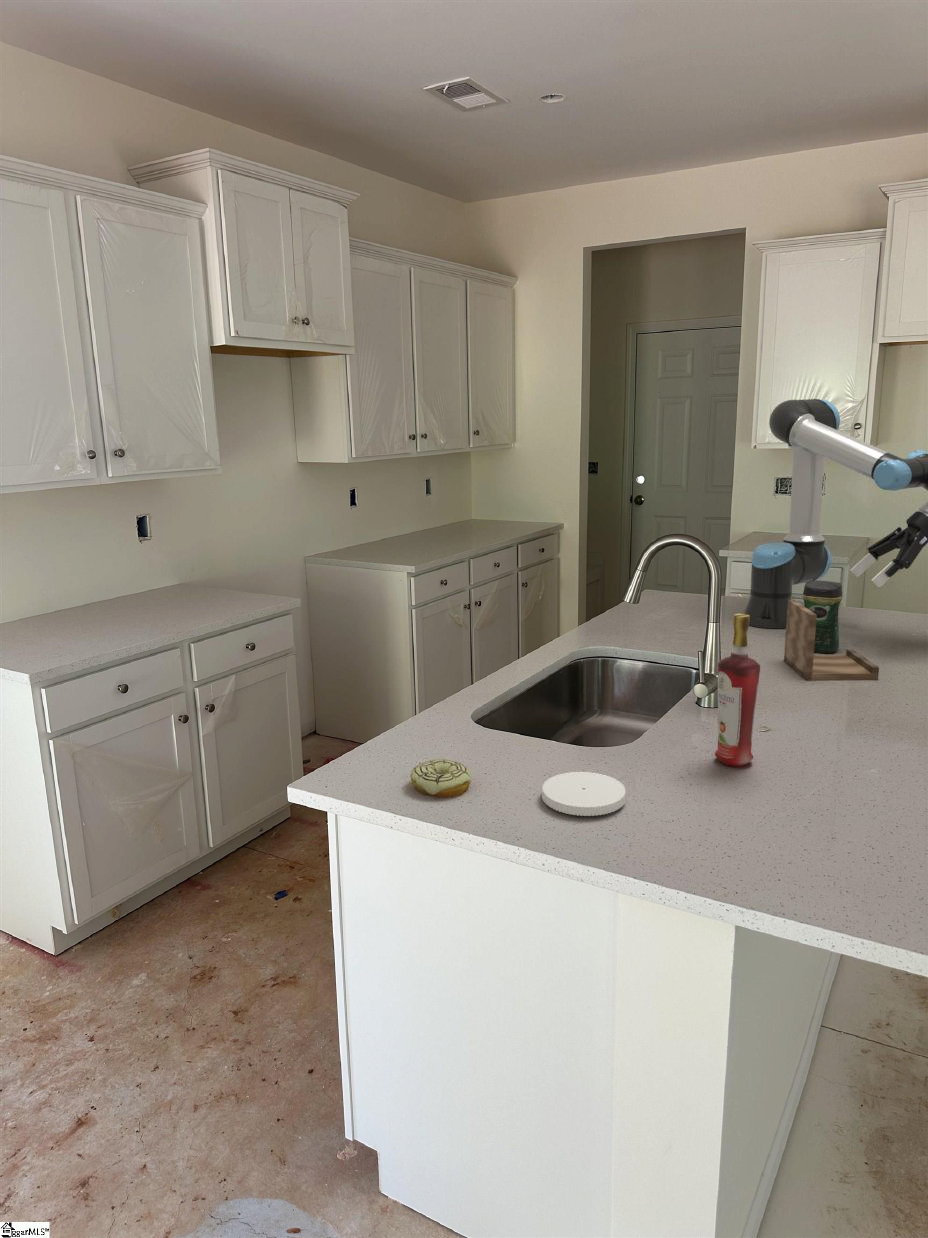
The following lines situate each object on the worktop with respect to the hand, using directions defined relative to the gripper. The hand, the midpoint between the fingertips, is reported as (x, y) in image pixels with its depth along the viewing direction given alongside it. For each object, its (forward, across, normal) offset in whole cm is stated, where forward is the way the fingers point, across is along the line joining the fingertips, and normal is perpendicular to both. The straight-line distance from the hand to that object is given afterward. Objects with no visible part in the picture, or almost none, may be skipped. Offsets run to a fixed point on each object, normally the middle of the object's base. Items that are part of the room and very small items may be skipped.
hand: (864, 578), depth 228 cm
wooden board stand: (+24, -18, -3) cm, 30 cm away
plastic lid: (+72, -90, +44) cm, 123 cm away
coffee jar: (+21, 0, -6) cm, 22 cm away
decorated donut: (+89, -84, +62) cm, 137 cm away
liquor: (+51, -74, +24) cm, 93 cm away
